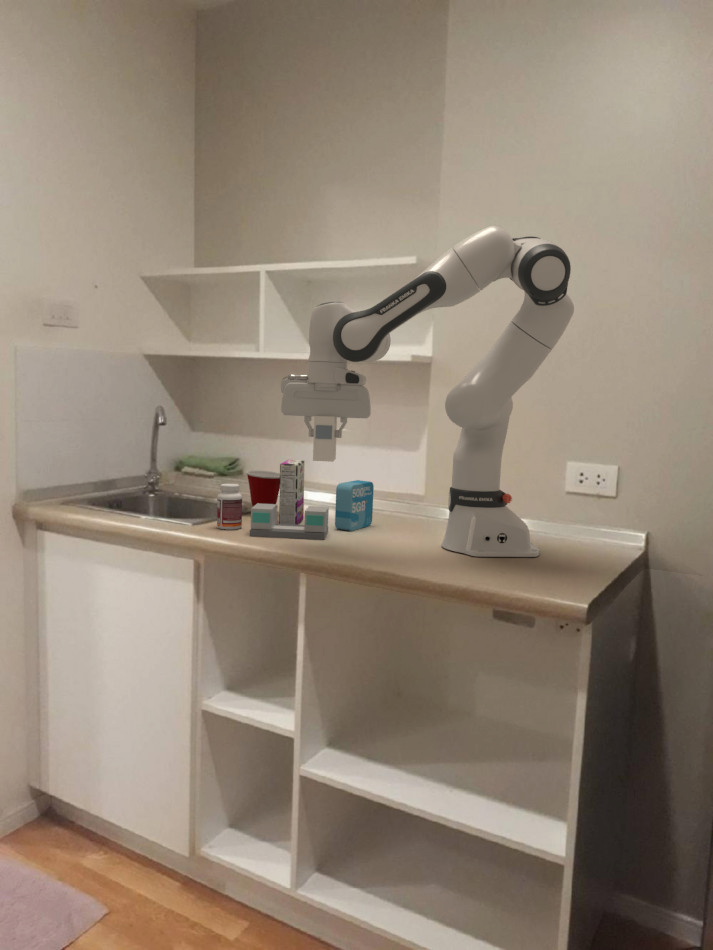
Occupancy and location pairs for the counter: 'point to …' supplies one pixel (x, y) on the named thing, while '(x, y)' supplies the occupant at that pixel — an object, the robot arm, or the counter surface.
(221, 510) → the pill bottle
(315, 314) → the robot arm
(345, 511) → the data package
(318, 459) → the module block
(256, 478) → the plastic cup
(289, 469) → the candy bar box
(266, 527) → the teal-tagged twin block base
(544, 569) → the counter surface
